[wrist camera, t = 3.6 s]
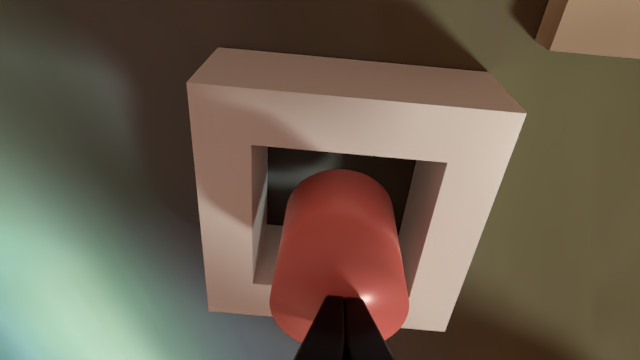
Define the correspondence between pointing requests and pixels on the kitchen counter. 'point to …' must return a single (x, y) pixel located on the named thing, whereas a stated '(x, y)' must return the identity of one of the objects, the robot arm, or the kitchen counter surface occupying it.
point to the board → (592, 27)
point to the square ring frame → (350, 138)
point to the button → (338, 252)
